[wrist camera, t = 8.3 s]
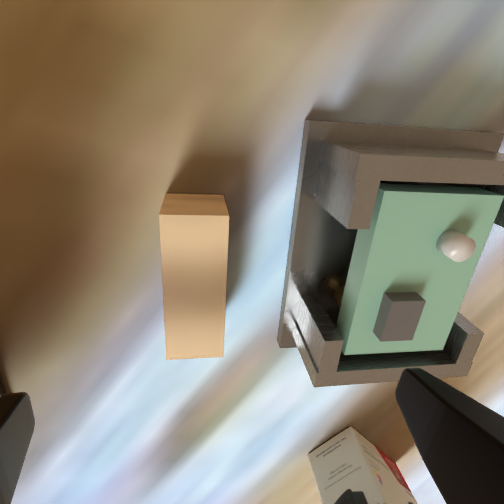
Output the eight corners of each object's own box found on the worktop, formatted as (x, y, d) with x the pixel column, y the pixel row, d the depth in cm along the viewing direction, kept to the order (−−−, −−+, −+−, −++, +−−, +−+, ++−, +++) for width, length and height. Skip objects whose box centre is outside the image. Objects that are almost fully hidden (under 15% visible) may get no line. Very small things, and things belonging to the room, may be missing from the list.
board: (426, 333, 20) (454, 362, 18) (333, 336, 19) (352, 368, 17) (479, 187, 16) (523, 201, 14) (368, 182, 15) (397, 197, 13)
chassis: (422, 333, 24) (473, 386, 20) (277, 339, 22) (297, 400, 18) (492, 132, 19) (586, 143, 14) (304, 119, 17) (345, 127, 12)
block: (219, 317, 21) (223, 356, 18) (170, 319, 20) (166, 359, 17) (223, 194, 18) (229, 215, 15) (165, 193, 17) (159, 214, 14)
